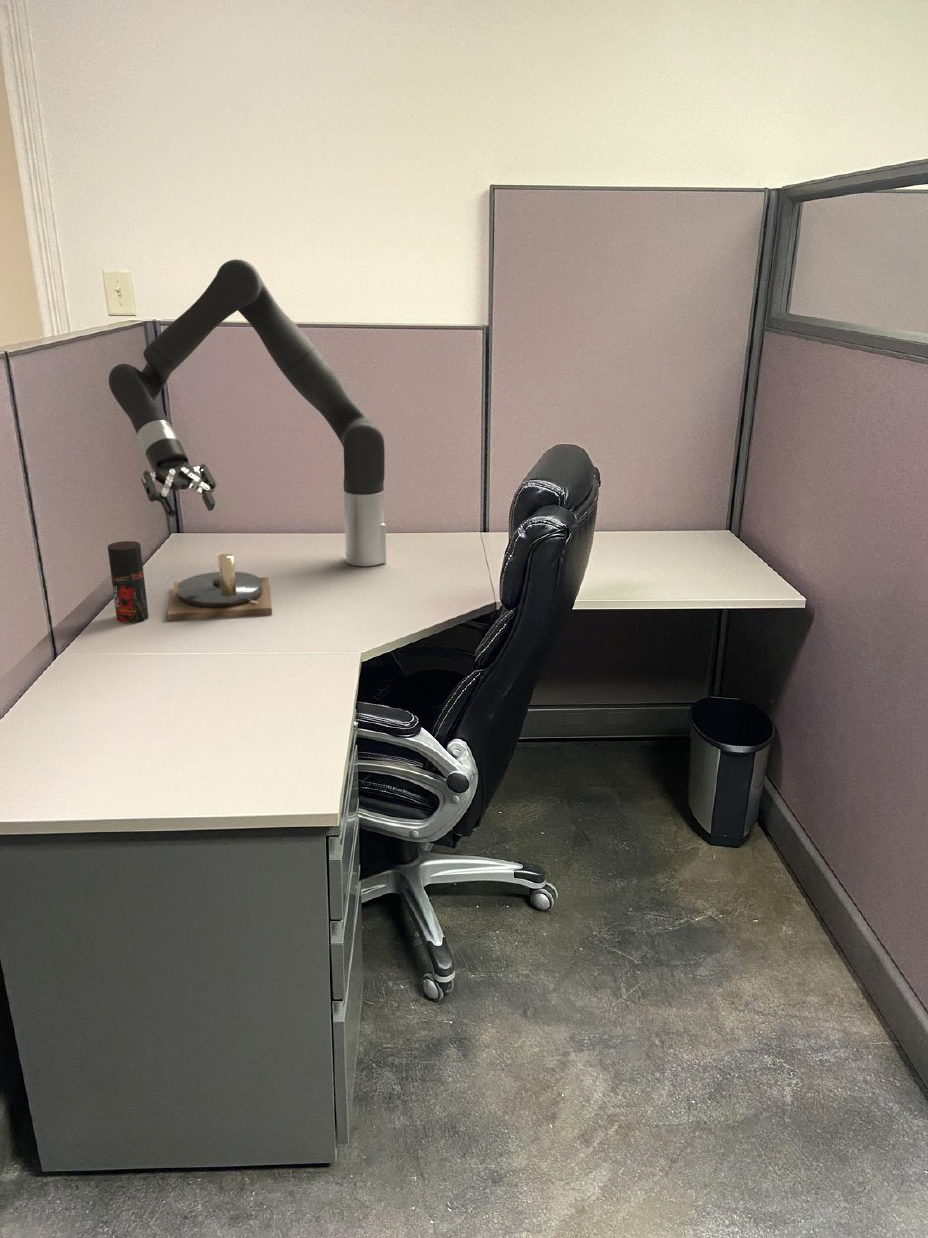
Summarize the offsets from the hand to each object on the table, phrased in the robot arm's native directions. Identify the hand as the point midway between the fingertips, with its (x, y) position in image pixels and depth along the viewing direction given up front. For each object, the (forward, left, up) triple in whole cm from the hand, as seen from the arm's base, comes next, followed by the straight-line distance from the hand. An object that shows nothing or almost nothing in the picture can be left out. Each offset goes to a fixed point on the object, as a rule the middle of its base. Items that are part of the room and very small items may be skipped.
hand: (193, 511), depth 188 cm
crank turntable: (-4, +4, -17) cm, 18 cm away
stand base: (-4, +4, -18) cm, 19 cm away
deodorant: (+13, +11, -19) cm, 25 cm away
